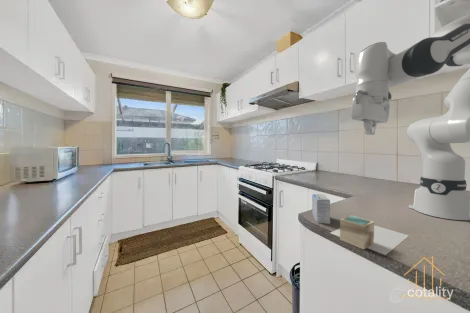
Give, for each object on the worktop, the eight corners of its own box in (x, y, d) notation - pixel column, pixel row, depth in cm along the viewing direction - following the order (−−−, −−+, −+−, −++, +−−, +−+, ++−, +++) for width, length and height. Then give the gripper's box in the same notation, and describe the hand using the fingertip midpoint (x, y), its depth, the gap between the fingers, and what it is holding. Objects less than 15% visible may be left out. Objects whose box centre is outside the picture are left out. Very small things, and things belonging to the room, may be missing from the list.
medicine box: (330, 224, 63) (330, 199, 62) (316, 223, 64) (317, 199, 63) (324, 216, 71) (324, 194, 70) (311, 215, 71) (312, 193, 71)
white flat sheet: (357, 220, 66) (357, 220, 66) (409, 236, 54) (409, 235, 54) (329, 233, 56) (329, 232, 56) (385, 255, 44) (385, 255, 44)
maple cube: (340, 218, 51) (340, 239, 52) (364, 226, 46) (363, 249, 47) (350, 214, 55) (350, 234, 55) (374, 221, 50) (373, 242, 50)
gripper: (368, 85, 54) (367, 132, 54) (393, 96, 65) (392, 135, 65) (345, 91, 59) (345, 134, 59) (372, 100, 70) (371, 136, 70)
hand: (370, 134), depth 62 cm, fingers closed
